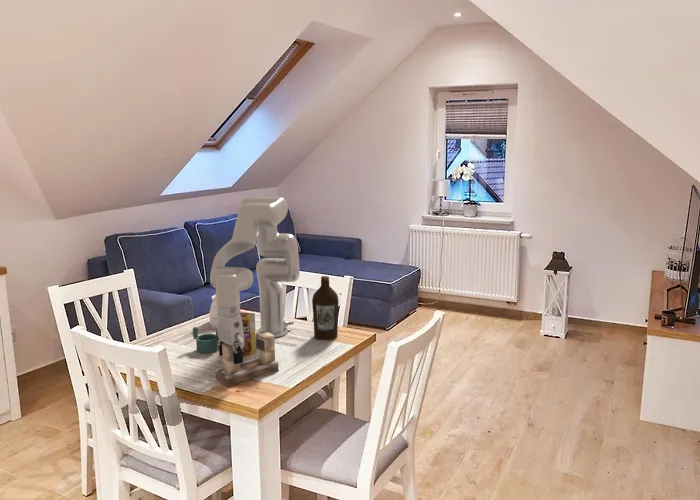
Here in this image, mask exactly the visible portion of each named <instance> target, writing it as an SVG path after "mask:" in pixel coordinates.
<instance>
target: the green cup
mask: <svg viewBox="0 0 700 500" xmlns="http://www.w3.org/2000/svg"><path fill="white" fill-rule="evenodd" d="M198 329H199V328H198V327H197V326H193V327H192V336H193V339H194V340H195V342H196V352H197V353H198V354H202V355H203V354H204V355H208V354H209V355H210V354H214V353H217V352H219V345H220V344H218V341H219V340H218V338H217V332H216V331H215V333H204V334H199V330H198ZM216 329H218V327H216V328H215V330H216Z"/></svg>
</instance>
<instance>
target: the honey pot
mask: <svg viewBox="0 0 700 500" xmlns="http://www.w3.org/2000/svg"><path fill="white" fill-rule="evenodd" d="M210 298H211V300H212V302H211V305H210V310H209V312H208V313H209V325H210V326H213V327H216V328H218V316H217V300H216V293H215V294H214V295H211V297H210Z"/></svg>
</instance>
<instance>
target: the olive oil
mask: <svg viewBox="0 0 700 500" xmlns="http://www.w3.org/2000/svg"><path fill="white" fill-rule="evenodd" d="M339 303H340V302H339V296H338V294H337V292H336V291H335V290H334V289H333V288H332V287H331V286H330V276H328V275H323V276H321V277H320V286H319V288H318V289H317V290H315V292H314V293H313V296H312V299H311V304H312V305H311V306H312V316H313V333H314V334H313V337H314V338H315V339H316V340H319V341H330V340H332V341H333V340H334V339H337V337H338V332H339V331H338V327H339V326H338V324H339V322H338V321H339V317H338V316H339Z"/></svg>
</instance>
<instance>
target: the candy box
mask: <svg viewBox="0 0 700 500" xmlns="http://www.w3.org/2000/svg"><path fill="white" fill-rule="evenodd" d="M240 315H241V319H242V324H243V332H244V342H245V344H244V349H243V354H245V355H246V354H247V355H253V354H254V353H256V352H257V348H256V340H257V338H256V337H257V336H256V313H255V312H244V311H243V312H242V311H240ZM236 343H238V342H236Z"/></svg>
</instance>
